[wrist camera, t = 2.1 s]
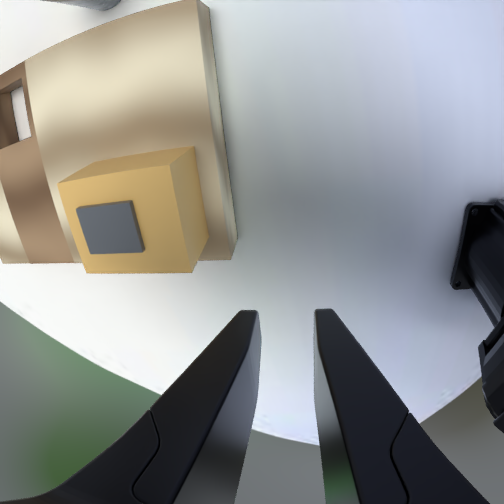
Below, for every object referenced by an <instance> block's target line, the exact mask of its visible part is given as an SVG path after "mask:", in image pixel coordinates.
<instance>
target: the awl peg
mask: <svg viewBox="0 0 504 504" xmlns="http://www.w3.org/2000/svg"><path fill="white" fill-rule="evenodd" d="M42 1H50V2H57V3H63V4H69V5H75V6H81V7H86V8H91V9H96V10H108V9H110V8H112V7H114V6H115V5H116V4H118V3H119V2H120V0H42Z"/></svg>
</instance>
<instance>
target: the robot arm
mask: <svg viewBox="0 0 504 504" xmlns="http://www.w3.org/2000/svg"><path fill="white" fill-rule="evenodd" d="M473 209H475V211H474V212H473V213H472V210H473ZM458 281H459V282H458ZM456 282H458V283H456ZM450 284H451V286H452V288H453V289H455V290H459V289H472V290H473V292H474V294H475V295H476V297H477V298H478V300H479V302H480V303H481V305H482V307H483V308H484V310H485V312H486V313H487V315H488V317H489V318H490V320H491V322H492V324H493V325H494V327H495V328H494V329H493V331H492V332H491V333H490V334H489V336H488V337H487V338H486V340H483V341H482V343H481V344H480V345H479V346H478V351H479V357H480V365H481V373H482V382H483V386H482V388H483V389H482V390H483V393H484V399H485V402H486V406H487V408H488V409H489V411H490V413H491V414H492V416H493V417H494V418H495V420H494V422H493V423H494V425H495V426H496V427H497V428H498V429H499V430H501V431H502V432H503V433H504V200H496V201H495V202H494V203H477V202H473V203H470V204H469V205H468V206H467V208H466V213H465V218H464V224H463V229H462V234H461V239H460V244H459V248H458V253H457V257H456V262H455V266H454V270H453V274H452V277H451V281H450ZM260 356H261V331H260V322H259V314H258V312H257V311H256V310H241V311H239V312H238V313H237V314H236V315H235V316H234V318H233V319H232V320H231V321H230V322H229V323H228V324H227V325H226V326H225V327H224V329H223V330H222V331H221V332H220V333H219V334H218V335H217V336H216V337H215V338H214V340H213V341H212V342H211V343H210V344H209V345H208V346H207V347H206V348H205V349H204V350H203V351H202V353H201V354H200V355H199V356H198V357H197V358H196V359H195V360H194V361H193V362H192V363H191V364H190V366H189V367H188V368H187V369H186V370H185V371H184V372H183V373H182V374H181V375H180V376H179V377H178V378H177V379H176V381H175V382H174V383H173V384H172V385H171V386H170V387H169V388H168V389H167V390H166V391H165V392H164V393H163V394H162V395H161V396H160V397H159V399H158V400H157V401H156V402H155V403H154V404H153V405H152V406H151V407H150V410H151V411H150V410H147V411H146V412H145V413H144V414H143V415H142V416H141V417H140V418H139V419H138V420H137V421H136V422H135V423H134V424H133V425H132V426H131V427H130V428H129V429H128V430H127V431H126V432H125V433H124V434H123V435H122V436H121V437H120V438H119V439H117V440H116V441H115V442H114V443H113V444H112V445H111V446H110V447H108V448H107V449H106V450H104V451H103V452H102V453H101V454H100V455H98V456H97V457H96V458H94V460H92V461H91V462H89V463H88V464H87V465H85V466H84V467H83V468H82V469H80V470H79V471H78V472H76V473H75V474H74V475H72V476H71V477H70V478H69V479H67V480H66V481H65V482H63V483H62V484H60V485H59V486H57V487H56V488H54V489H52V490H50V491H48V492H46V493H44V494H41V495H37V496H34V497H29V498H23V499H16V500H9V501H1V502H0V504H234V502H235V498H236V493H237V489H238V485H239V481H240V476H241V472H242V467H243V463H244V459H245V454H246V449H247V446H248V441H249V437H250V431H251V427H252V423H253V418H254V414H255V409H256V403H257V397H258V386H259V371H260ZM314 402H315V411H316V419H317V427H318V435H319V444H320V451H321V461H322V470H323V479H324V489H325V499H326V504H490V503H489V502H488V501H487V500H486V499H485V498H484V497H483V496H482V495H481V494H480V493H479V492H478V491H477V490H476V489H475V488H474V487H473V486H472V484H471V483H470V482H469V481H468V480H467V479H466V478H465V477H464V476H463V475H462V474H461V473H460V472H459V471H458V470H457V469H456V468H455V466H454V465H453V464H452V463H451V462H450V461H449V460H448V459H447V458H446V456H445V455H444V454H443V453H442V452H441V451H440V450H439V449H438V447H437V446H436V445H435V444H434V443H433V442H432V440H431V439H430V438H429V436H428V435H427V434H426V433H425V431H424V430H423V429H422V427H421V426H420V425H419V423H418V422H417V420H416V419H415V418H414V416H413V415H412V413H408V412H409V410H408V408H407V407H406V405H405V404H404V403H403V401H402V400H401V399H400V397H399V396H398V395H397V393H396V392H395V391H394V389H393V388H392V386H391V385H390V384H389V382H388V381H387V380H386V378H385V377H384V376H383V374H382V373H381V372H380V370H379V369H378V368H377V366H376V365H375V364H374V362H373V361H372V360H371V358H370V357H369V356H368V355H367V353H366V352H365V351H364V349H363V348H362V347H361V345H360V344H359V343H358V341H357V340H356V339H355V337H354V336H353V335H352V334H351V332H350V331H349V330H348V328H347V327H346V326H345V324H344V323H343V322H342V321H341V319H340V318H339V317H338V315H337V314H336V313H335V311H334V310H333V309H316V310H315V311H314Z"/></svg>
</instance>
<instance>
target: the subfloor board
mask: <svg viewBox="0 0 504 504" xmlns="http://www.w3.org/2000/svg"><path fill="white" fill-rule="evenodd" d="M22 85H23V91H24V98H25V104H26V110H27V116H28V121H29V126H30V131H31V136H32V137H29V138H26V139H24V140H21V141H19V139H18V134H17V129H16V124H15V119H14V113H13V107H12V101H11V94H10V92H11V91H13V90H15V89H17V88H19V87H21V86H22ZM188 146H194V149H195V155H196V162H197V168H198V174H199V180H200V187H201V193H202V198H203V204H204V210H205V216H206V222H207V227H208V233H209V238H208V240H207V242H206V244H205V246H204V248H203V250H202V253H201V255H200V257H199V259H198V261H203V260H231V258H232V255H233V252H234V248H235V245H236V242H237V239H238V238H237V230H236V223H235V215H234V208H233V201H232V193H231V185H230V178H229V170H228V162H227V155H226V147H225V139H224V131H223V123H222V115H221V107H220V99H219V91H218V83H217V75H216V66H215V58H214V49H213V41H212V32H211V24H210V15H209V7H208V6H206V5H205V4H204V3H202V2H201V1H200V0H182V1H178V2H173V3H169V4H165V5H162V6H158V7H154V8H151V9H147V10H144V11H141V12H137V13H134V14H131V15H128V16H125V17H122V18H119V19H116V20H113V21H110V22H108V23H105V24H102V25H100V26H97V27H95V28H92V29H90V30H87V31H85V32H82V33H80V34H78V35H75V36H73V37H71V38H69V39H66V40H64V41H62V42H60V43H58V44H56V45H54V46H52V47H50V48H48V49H46V50H44V51H42V52H40V53H38V54H36V55H34V56H32V57H30V58H28V59H27V60H25V61H23V62H22V63H20V64H18V65H16V66H15V67H13V68H11V69H10V70H8V71H6V72H5V73H3V74H2V75H0V258H1V260H2V263H3V264H12V263H30V264H33V263H83V262H82V260H81V257H80V254H79V252H78V249H77V246H76V243H75V241H74V238H73V235H72V232H71V229H70V226H69V223H68V220H67V217H66V214H65V210H64V207H63V204H62V200H61V197H60V194H59V190H58V187H57V183H58V182H60V181H62V180H63V179H65V178H67V177H68V176H70V175H72V174H74V173H75V172H77V171H79V170H80V169H82V168H84V167H86V166H87V165H89V164H91V163H93V162H96V161H101V160H106V159H112V158H117V157H122V156H128V155H134V154H140V153H146V152H152V151H159V150H166V149H173V148H180V147H188Z"/></svg>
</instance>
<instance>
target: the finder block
mask: <svg viewBox="0 0 504 504" xmlns="http://www.w3.org/2000/svg"><path fill="white" fill-rule="evenodd" d="M57 187H58V190H59V194H60V197H61V200H62V204H63V207H64V210H65V214H66V217H67V220H68V223H69V226H70V229H71V232H72V235H73V238H74V241H75V243H76V246H77V249H78V252H79V254H80V257H81V260H82V262H83V265H84V268H85V270H86V273H192V272H193V269H194V267H195V265H196V263H197V261H198V259H199V257H200V255H201V253H202V250H203V248H204V246H205V244H206V242H207V240H208V238H209V233H208V227H207V222H206V216H205V210H204V204H203V198H202V193H201V187H200V180H199V174H198V168H197V162H196V155H195V149H194V146H188V147H180V148H173V149H166V150H159V151H152V152H146V153H140V154H134V155H128V156H122V157H117V158H112V159H106V160H101V161H96V162H93V163H91V164H89V165H87V166H86V167H84V168H82V169H80V170H79V171H77V172H75V173H74V174H72V175H70V176H68V177H67V178H65V179H63V180H62V181H60V182H58V183H57Z"/></svg>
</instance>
